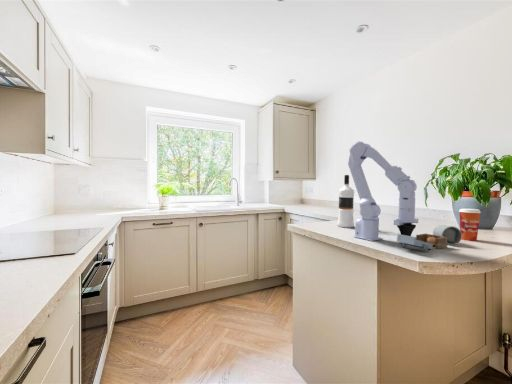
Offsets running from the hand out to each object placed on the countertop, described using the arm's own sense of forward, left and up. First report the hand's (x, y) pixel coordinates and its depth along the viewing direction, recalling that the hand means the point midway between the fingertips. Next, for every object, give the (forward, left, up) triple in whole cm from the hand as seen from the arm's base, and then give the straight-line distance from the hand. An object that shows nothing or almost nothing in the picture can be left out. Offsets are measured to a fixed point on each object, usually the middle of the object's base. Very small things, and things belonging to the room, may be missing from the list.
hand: (405, 241), depth 101 cm
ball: (+6, +7, +1) cm, 10 cm away
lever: (+4, -6, 0) cm, 7 cm away
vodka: (-41, +12, -1) cm, 42 cm away
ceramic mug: (+6, +18, -2) cm, 19 cm away
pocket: (+6, +7, -1) cm, 9 cm away
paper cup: (+8, +36, -1) cm, 37 cm away
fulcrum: (+6, -5, -1) cm, 9 cm away
